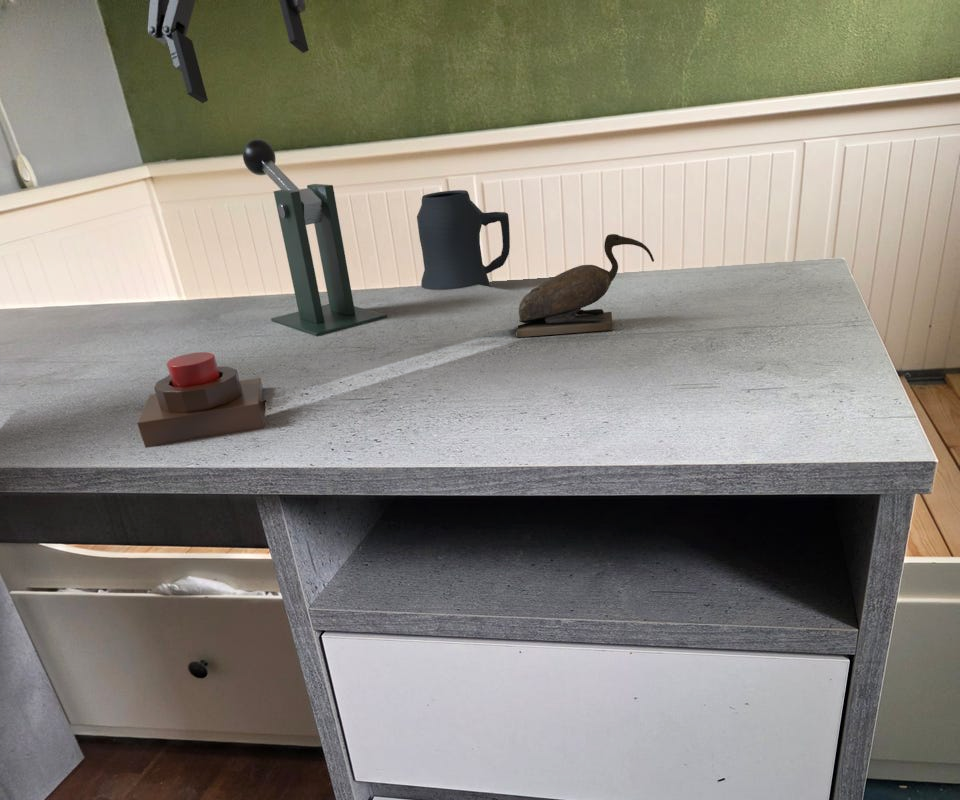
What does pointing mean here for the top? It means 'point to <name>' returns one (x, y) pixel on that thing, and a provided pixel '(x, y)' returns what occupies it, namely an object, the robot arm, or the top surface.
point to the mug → (456, 241)
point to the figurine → (572, 298)
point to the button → (193, 369)
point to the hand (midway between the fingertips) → (247, 73)
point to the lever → (280, 177)
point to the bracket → (333, 263)
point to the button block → (202, 409)
